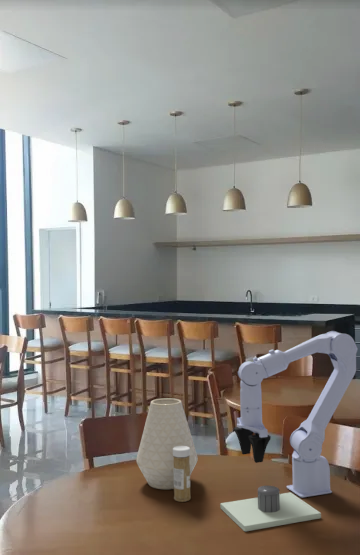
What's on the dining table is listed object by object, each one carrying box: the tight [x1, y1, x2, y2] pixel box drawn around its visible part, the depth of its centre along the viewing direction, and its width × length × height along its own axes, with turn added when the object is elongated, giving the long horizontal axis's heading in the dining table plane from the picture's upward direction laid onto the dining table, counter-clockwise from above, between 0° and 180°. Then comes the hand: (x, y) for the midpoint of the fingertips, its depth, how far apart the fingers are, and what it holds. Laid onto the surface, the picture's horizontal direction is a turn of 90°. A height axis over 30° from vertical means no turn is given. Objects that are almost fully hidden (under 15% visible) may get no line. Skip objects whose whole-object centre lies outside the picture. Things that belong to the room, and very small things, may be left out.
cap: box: [257, 485, 280, 513], centre depth 132 cm, size 5×5×4 cm
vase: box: [136, 397, 199, 491], centre depth 154 cm, size 17×17×23 cm
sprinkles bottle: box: [173, 446, 192, 503], centre depth 142 cm, size 5×5×13 cm
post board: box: [219, 491, 322, 532], centre depth 132 cm, size 20×14×5 cm
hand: (252, 457), depth 145 cm, fingers open, 7 cm apart
